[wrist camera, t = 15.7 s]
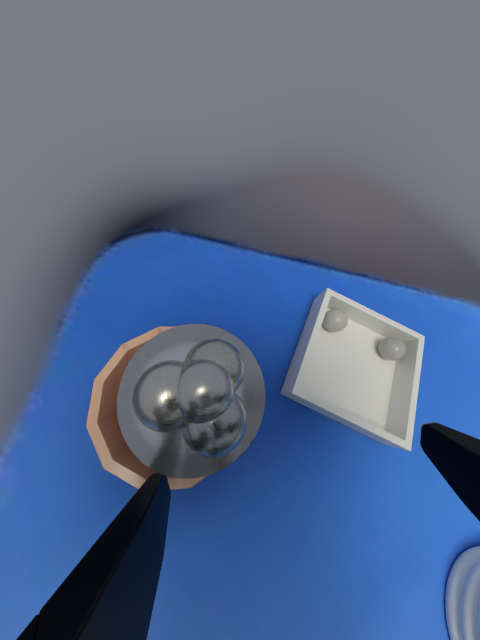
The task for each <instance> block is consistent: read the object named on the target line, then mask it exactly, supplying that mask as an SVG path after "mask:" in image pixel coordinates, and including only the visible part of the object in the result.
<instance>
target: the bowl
mask: <svg viewBox="0 0 480 640" xmlns="http://www.w3.org/2000/svg"><path fill="white" fill-rule="evenodd" d="M170 328H173V327H160V326H159V327H157V328H155V329H153V330H151V331H149V332H147V333H145V334H143V335H141V336H139V337H136V338H134V339H132V340H130V341H128V342H126V343H124V344H122V345H121V346H120V348H119V349H118V350H117V352H116V353H115V354H114V355H113V357H112V358H111V359H110V360H109V362H108V363H107V364H106V366H105V367H104V368H103V369H102V371H101V372H100V373H99V374H98V376H97V377H96V378H95V379H94V385H93V390H92V396H91V401H90V407H89V413H88V418H87V424H86V427H87V429H88V431H89V434H90V436H91V439H92V441H93V444H94V446H95V448H96V451H97V453H98V456H99V458H100V461H101V463H102V465H103V469H105V470H107V471H108V472H110V473H112V474H114V475H115V476H117V477H119V478H120V479H122V480H124V481H125V482H127V483H129V484H130V485H132V486H134V487H135V488H137V489H139V488H140V487H141V486H142V485H143V483H144V482H145V481H146V480H147V478H148V477H149V476H150V475H151V474H152V473H155V472H156V471H154V470H152V469H150V468H149V467H148V466H146V465H145V464H144V463H142V462H141V461H140V460H139V459H138V458H137V457H136V456H135V455H134V454H133V452H132V451H131V449H130V448H129V447H128V445H127V443H126V441H125V439H124V437H123V435H122V432H121V429H120V426H119V421H118V415H117V397H118V390H119V386H120V382H121V379H122V376H123V374H124V371H125V369H126V367H127V366H128V364H129V362H130V360H131V359H132V358H133V356H134V355H135V354H136V352H137V351H138V350H139V349H140V348H141V347H142V346H143V345H144V344H145V343H146V342H147V341H149V340H150V339H151V338H153V337H154V336H156V335H157V334H159V333H161V332H163V331H165V330H167V329H170ZM205 477H206V476H205ZM205 477H199V478H193V479H181V478H174V477H169V476H167V480H168V483H169V486H170V490H174V489H184V488H192V487H193V486H194V485H196V484H197V483H198V482H200V481H201V480H202V479H204V478H205Z"/></svg>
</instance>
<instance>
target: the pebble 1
mask: <svg viewBox="0 0 480 640" xmlns="http://www.w3.org/2000/svg"><path fill="white" fill-rule="evenodd" d="M323 324H324V326H325V328H326V329H327V330H329V331H332V332H339V331H342V330H343V329H344V328H345V327H346V326H347V324H348V317H347V315H346V314H345V312H343V311H342V310H340V309H331V310H329V311H327V312H326V313H325V316H324V319H323Z"/></svg>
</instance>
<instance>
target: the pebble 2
mask: <svg viewBox="0 0 480 640" xmlns="http://www.w3.org/2000/svg"><path fill="white" fill-rule="evenodd" d="M378 349H379V352H380V354H381V355H382V356H383V357H384V358H385V359H388V360H393V361H394V360H399V359H401V358H403V357H404V356H405V354H406V350H407V349H406V345H405V344H404V342H403V341H401V340H400V339H398V338H395V337H388V338H385V339H383V340H382V341H381V342H380V344H379V347H378Z"/></svg>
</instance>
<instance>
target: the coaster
mask: <svg viewBox="0 0 480 640" xmlns="http://www.w3.org/2000/svg"><path fill="white" fill-rule="evenodd" d="M445 610H446V620H447V627H448V632H449V636H450V640H480V546H476V547H472V548H470V549H467V550H466V551H464V552H463V553H462V554H461V555H460V556H459V557H458V558H457V560H456V561H455V563H454V564H453V566H452V568H451V571H450V574H449V577H448V581H447V586H446V595H445Z"/></svg>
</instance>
